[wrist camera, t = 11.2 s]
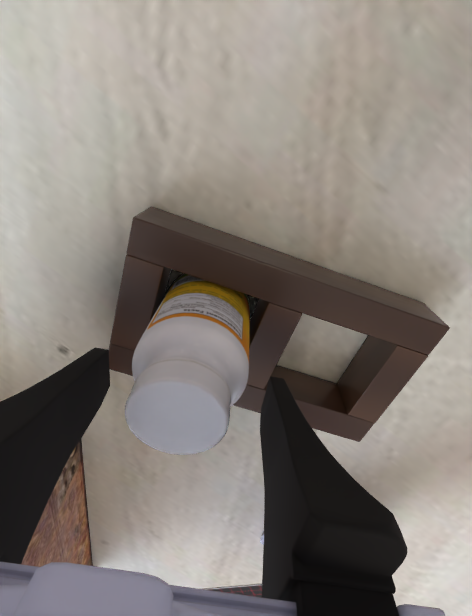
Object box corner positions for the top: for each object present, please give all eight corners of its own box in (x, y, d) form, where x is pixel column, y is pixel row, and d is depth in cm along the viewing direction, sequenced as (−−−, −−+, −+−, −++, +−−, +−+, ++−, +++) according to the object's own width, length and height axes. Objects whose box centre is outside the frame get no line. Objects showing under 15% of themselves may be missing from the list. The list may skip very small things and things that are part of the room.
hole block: (348, 409, 24) (359, 442, 21) (122, 341, 22) (105, 368, 19) (424, 303, 20) (451, 327, 17) (150, 205, 18) (132, 216, 15)
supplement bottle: (220, 352, 22) (200, 484, 14) (153, 312, 21) (83, 430, 12) (266, 296, 20) (277, 411, 11) (194, 248, 19) (144, 337, 10)
